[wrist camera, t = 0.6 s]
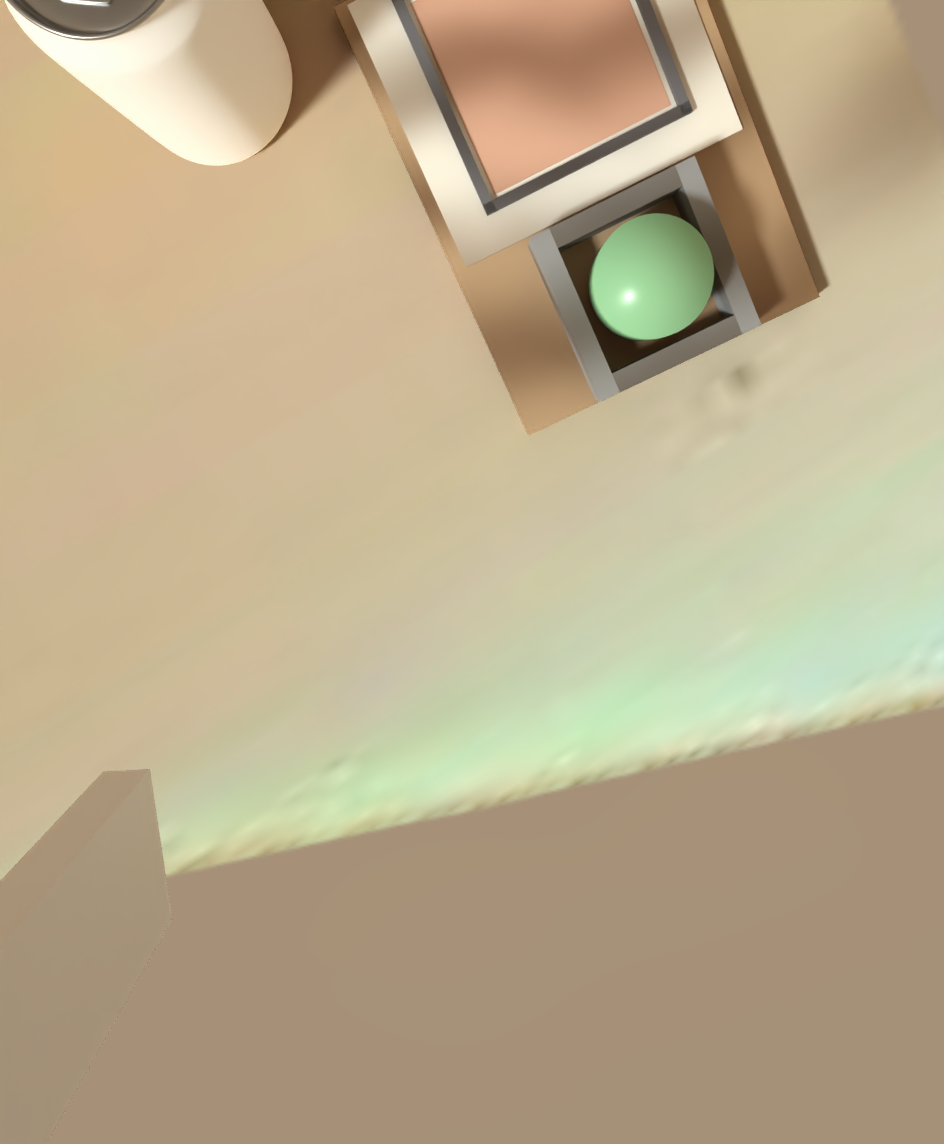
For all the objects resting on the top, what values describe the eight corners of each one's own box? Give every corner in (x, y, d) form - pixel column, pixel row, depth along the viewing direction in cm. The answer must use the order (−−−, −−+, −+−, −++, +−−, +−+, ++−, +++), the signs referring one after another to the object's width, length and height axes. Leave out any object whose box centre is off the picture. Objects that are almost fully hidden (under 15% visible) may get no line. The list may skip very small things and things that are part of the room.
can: (299, -1, 34) (203, -209, 22) (292, 176, 35) (197, 67, 24) (134, -16, 34) (-50, -232, 22) (133, 161, 35) (-41, 45, 23)
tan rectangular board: (337, 16, 34) (325, -15, 32) (641, -149, 33) (655, -194, 30) (528, 434, 37) (531, 437, 35) (812, 298, 36) (837, 291, 33)
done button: (570, 255, 34) (575, 246, 32) (674, 203, 33) (686, 191, 31) (615, 360, 35) (623, 358, 33) (717, 311, 34) (732, 306, 32)
